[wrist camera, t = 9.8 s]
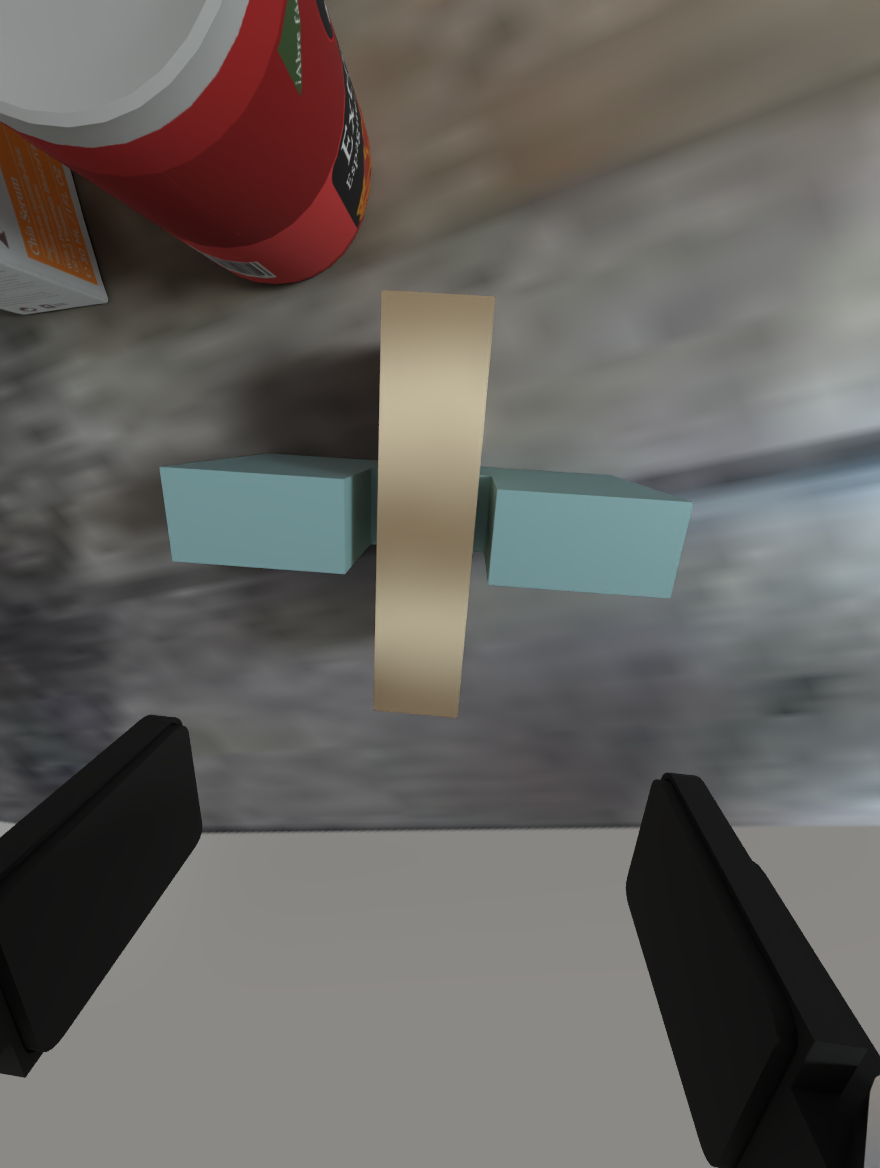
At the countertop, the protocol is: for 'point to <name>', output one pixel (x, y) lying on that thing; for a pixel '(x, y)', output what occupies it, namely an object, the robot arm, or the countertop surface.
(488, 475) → the light blue block
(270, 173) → the canned food
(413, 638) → the beige flat block
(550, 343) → the countertop surface
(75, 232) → the skincare box
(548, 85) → the countertop surface
